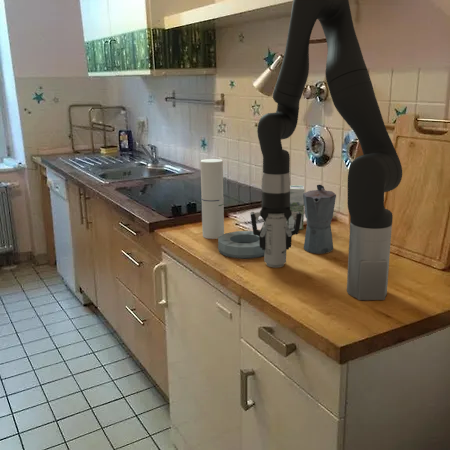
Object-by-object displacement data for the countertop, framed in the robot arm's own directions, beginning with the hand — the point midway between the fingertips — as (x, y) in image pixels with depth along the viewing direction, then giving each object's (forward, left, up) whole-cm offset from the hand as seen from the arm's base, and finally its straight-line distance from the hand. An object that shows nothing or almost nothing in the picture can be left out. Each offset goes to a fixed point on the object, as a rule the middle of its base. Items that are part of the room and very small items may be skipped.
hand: (275, 248), depth 138 cm
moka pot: (+13, -14, -5) cm, 20 cm away
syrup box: (+36, -10, -5) cm, 38 cm away
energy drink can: (0, 0, -5) cm, 5 cm away
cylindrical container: (+28, +18, -5) cm, 34 cm away
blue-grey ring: (+13, +8, -5) cm, 16 cm away
